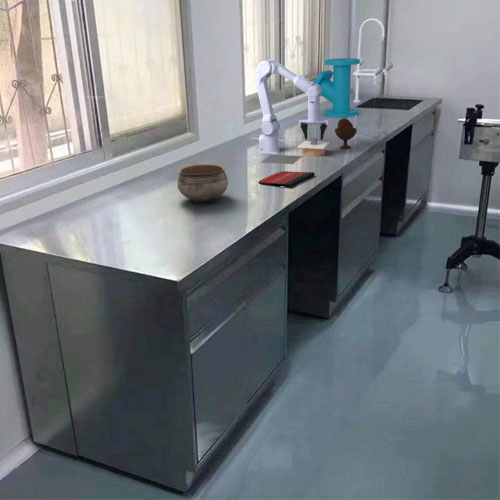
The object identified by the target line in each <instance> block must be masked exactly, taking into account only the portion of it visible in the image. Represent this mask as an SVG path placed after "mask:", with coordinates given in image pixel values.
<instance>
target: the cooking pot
mask: <svg viewBox="0 0 500 500" xmlns="http://www.w3.org/2000/svg"><path fill="white" fill-rule="evenodd" d="M225 170H226V166H225V165H223V164H220V163H213V162H211V163H210V162H201V163H193V164H192V163H191V164H187V165H183V166H181V167H180V168H178V170H177V171H178V172H179V175H178V177H177V178H178V179H177V188H178V191H179V192H180V193H181V195H182V196H184V197H185V198H187V199H189V200H192V201H194V202H196V203H199V204H200V203H201V204H207V203H210V202H211V203H212V202H213V201H214V200H215V199H218V198H219V197H220V196H221V195H223V194H224V193H225V192H226V191H227V189H228V185H229V180H228V175H227V173H226V171H225Z"/></svg>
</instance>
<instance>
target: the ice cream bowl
mask: <svg viewBox="0 0 500 500" xmlns="http://www.w3.org/2000/svg"><path fill="white" fill-rule="evenodd" d="M357 131H358V129H357V128H355V127H354V125H353V123H352V122H351V121H350V119H348V118H347V117H345V118H341V119H339V121H338V122H337V128H335V129H334V133H335V135H336V136H337V137H338V138H339V139H340V140H341V141H343V145H341V146H339V149H340V150H350V149H351V148H352V147H351V146H350V145H348V141H349V140H352V139H353V138H354V137H355V135H356V134H357Z"/></svg>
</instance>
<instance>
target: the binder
mask: <svg viewBox="0 0 500 500" xmlns="http://www.w3.org/2000/svg"><path fill="white" fill-rule="evenodd" d="M314 177H315V172H313V171H312V172H311V171H310V172H309V171H285V170H283V171H279V172H277V173H273V174H271V175H269V176H266V177H264V178H263V179H260V180H258V185H263V186H269V187H276V188H281V187H280V186H290V187H289V189H292V188H294V187H296V186H298V185H300V184H302V183H304V182H306V181H307V179H308V180H310V179H312V178H314ZM305 180H306V181H305ZM303 181H304V182H303ZM301 182H302V183H301ZM299 183H300V184H299ZM297 184H298V185H297Z"/></svg>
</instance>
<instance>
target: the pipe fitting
mask: <svg viewBox="0 0 500 500" xmlns="http://www.w3.org/2000/svg"><path fill="white" fill-rule="evenodd" d="M360 62H361V59H360V58H356V57H355V58H352V57H351V58H350V57H349V58H348V57H343V58H339V57H338V58H337V57H336V58H328V59H324V65H325V66H332V67H333V68H332V70H333V71H332V70H331V69H327V70H324V71H323V70H322V71H321V72H320V73H319V74H318V76H317V77H316V79H315V81H314V84H318V85H319V86H320V87H321V89H322V91H321V94H320V97H321V96H322V97H323V98H325V100H326V99H327V101H329V102H330V103H332V108H328V109H325V110H324V112H323V115H326V116H325V117H327V116H330V117H329V118H334V117H345V118H350V117H349V116H354V117H356V116H355V115H357V116H359V109H356V108H351V76H352V75H351V73H352V71H351V70H352V69H351V68H352V66H353V65H354V66H356V65H360V64H361V63H360ZM332 77H333V78H332ZM331 79H333V80H331Z"/></svg>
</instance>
